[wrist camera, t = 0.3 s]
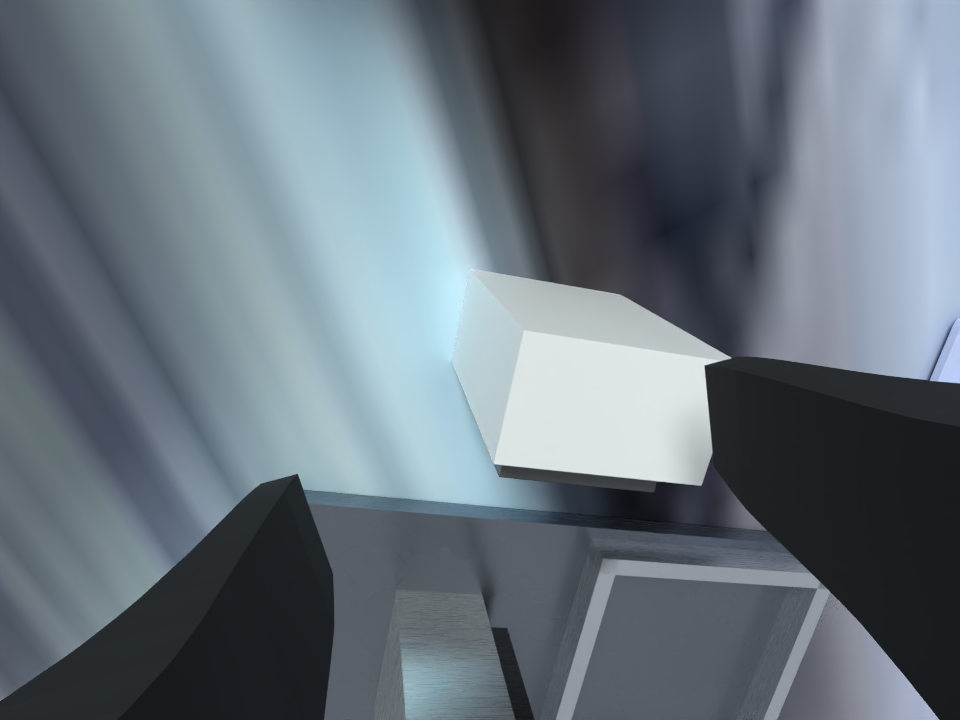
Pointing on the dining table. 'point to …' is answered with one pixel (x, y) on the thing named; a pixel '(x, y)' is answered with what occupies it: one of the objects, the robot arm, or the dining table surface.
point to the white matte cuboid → (582, 385)
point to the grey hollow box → (556, 615)
